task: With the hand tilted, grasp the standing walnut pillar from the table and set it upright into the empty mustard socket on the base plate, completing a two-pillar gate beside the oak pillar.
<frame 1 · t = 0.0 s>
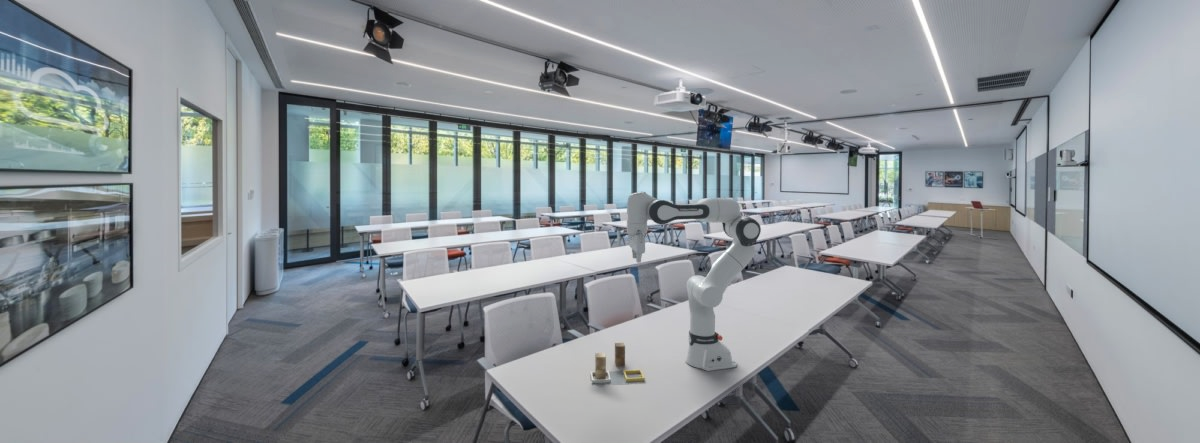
hand: (636, 260, 190), 48 cm above the table, tool pointing down, fingers open, 8 cm apart
walnut pillar: (619, 366, 193), on the table
oak pillar: (600, 378, 179), point 1 cm above the table, touching base plate
base plate: (617, 379, 180), on the table
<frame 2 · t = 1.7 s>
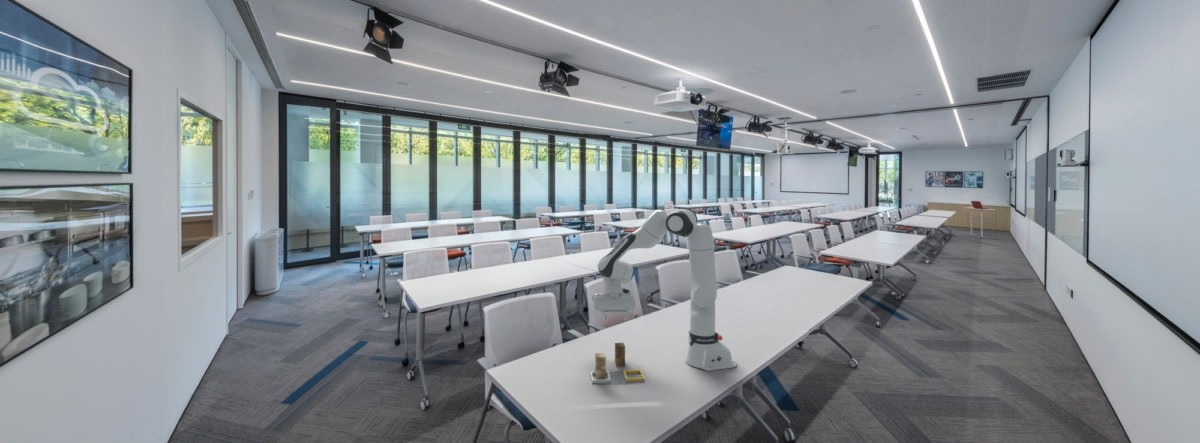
hand: (615, 319, 204), 17 cm above the table, tool tilted 45°, fingers open, 8 cm apart
nothing on the table moved.
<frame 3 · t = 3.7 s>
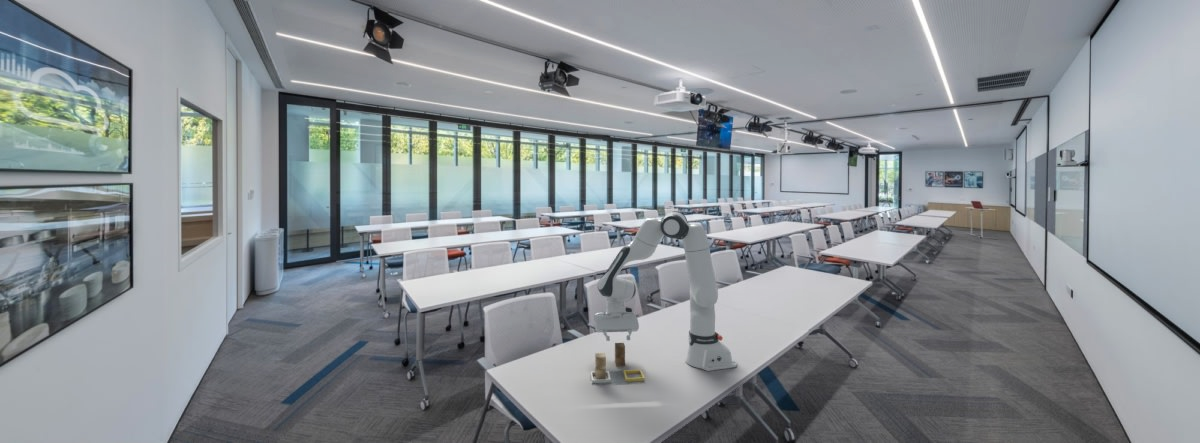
hand: (618, 340, 197), 10 cm above the table, tool tilted 45°, fingers open, 8 cm apart
nothing on the table moved.
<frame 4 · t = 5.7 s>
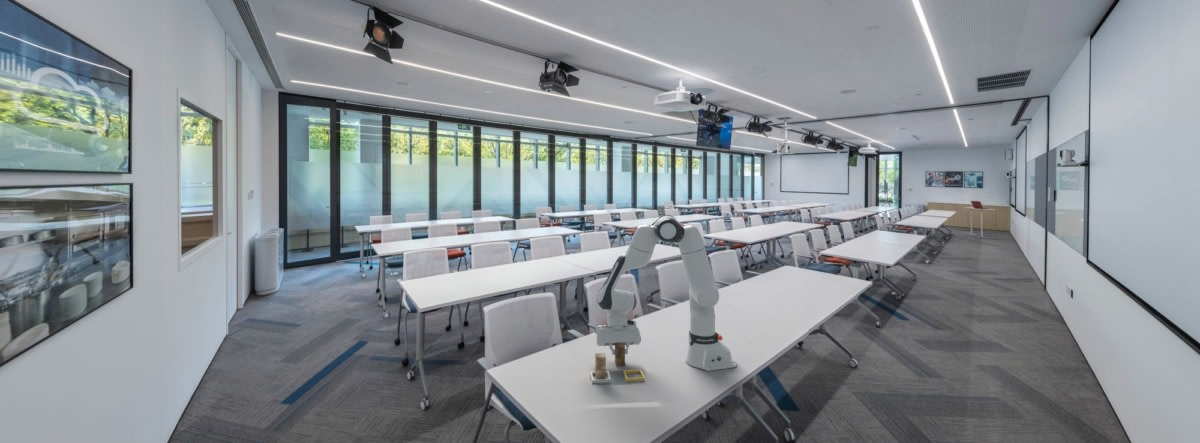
hand: (620, 354, 192), 6 cm above the table, tool tilted 45°, fingers closed on walnut pillar, 4 cm apart
walnut pillar: (619, 366, 193), on the table, touching gripper
everything else where it was.
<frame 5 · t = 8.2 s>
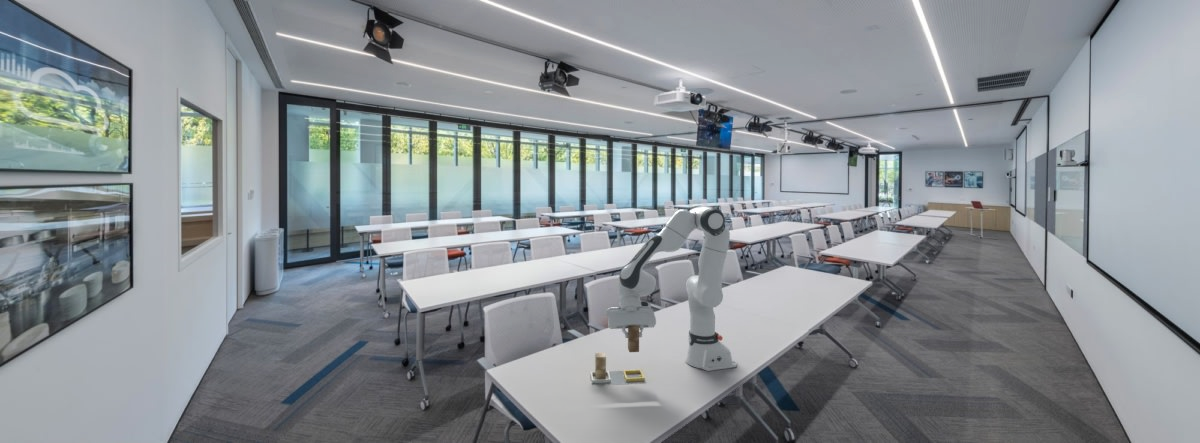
hand: (633, 337, 179), 18 cm above the table, tool tilted 45°, fingers closed on walnut pillar, 4 cm apart
walnut pillar: (633, 350, 180), point 12 cm above the table, touching gripper
everything else where it was.
when the fingers open (8 cm above the table, at t = 11.0 s): walnut pillar drops 1 cm, resting on base plate.
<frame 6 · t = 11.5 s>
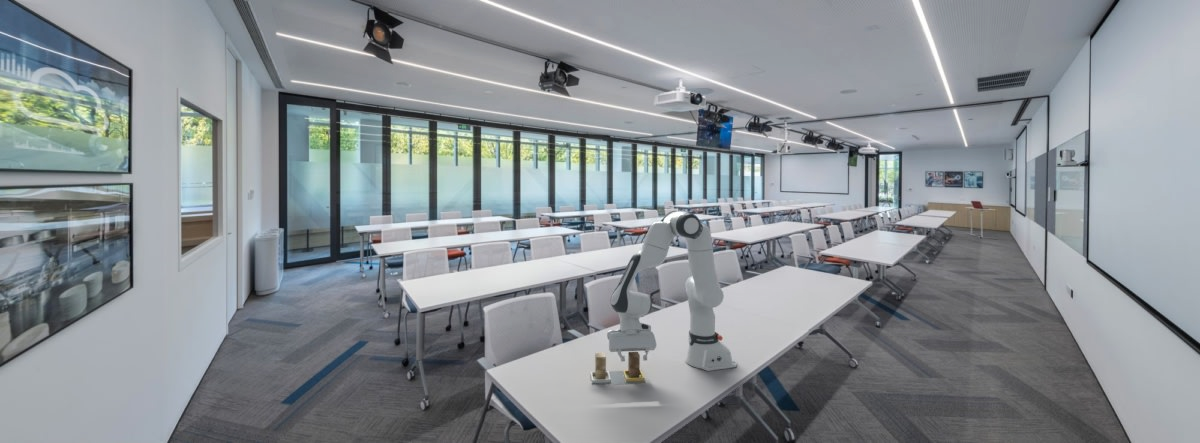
hand: (634, 360, 179), 8 cm above the table, tool tilted 45°, fingers open, 8 cm apart
walnut pillar: (633, 376, 181), point 1 cm above the table, touching base plate
everything else where it was.
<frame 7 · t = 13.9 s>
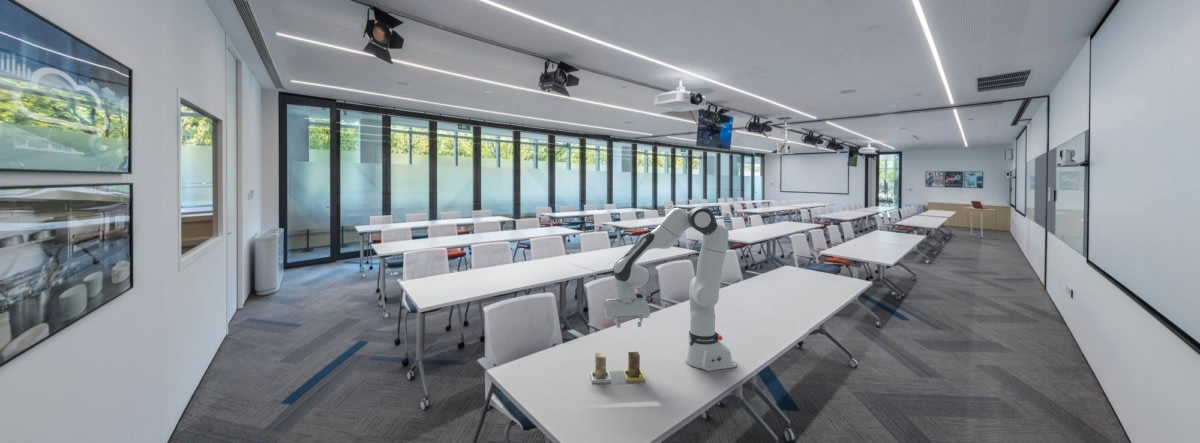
hand: (629, 326, 191), 18 cm above the table, tool tilted 45°, fingers open, 8 cm apart
nothing on the table moved.
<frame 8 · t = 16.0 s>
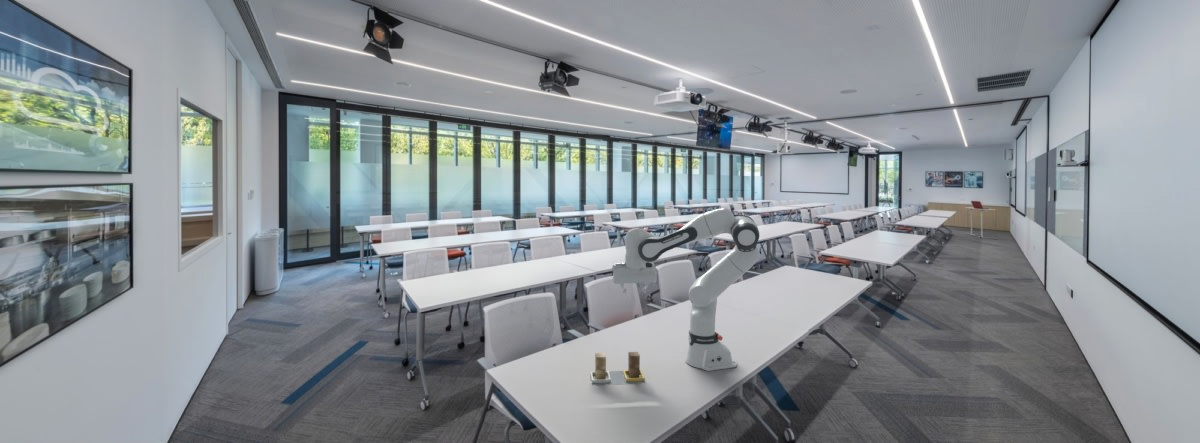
hand: (634, 292, 200), 31 cm above the table, tool pointing down, fingers open, 8 cm apart
nothing on the table moved.
at the end: walnut pillar 0.0 cm from the target spot on the base plate, point 1.0 cm above the base plate's base; walnut pillar tilted 0°; the gripper is holding nothing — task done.
